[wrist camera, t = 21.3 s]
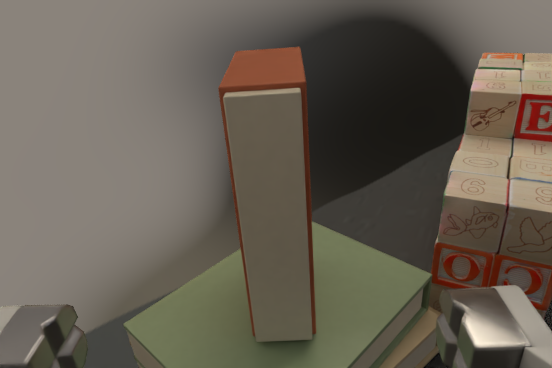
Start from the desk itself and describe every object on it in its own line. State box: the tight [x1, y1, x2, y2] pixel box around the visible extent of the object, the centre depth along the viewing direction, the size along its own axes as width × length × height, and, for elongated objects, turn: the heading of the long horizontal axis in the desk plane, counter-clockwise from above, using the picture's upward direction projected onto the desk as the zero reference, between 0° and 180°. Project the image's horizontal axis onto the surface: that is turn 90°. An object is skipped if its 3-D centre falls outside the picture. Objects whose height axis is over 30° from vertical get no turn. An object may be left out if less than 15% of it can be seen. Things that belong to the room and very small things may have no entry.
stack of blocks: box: [428, 53, 552, 320], centre depth 31 cm, size 21×6×12 cm, turn 153°
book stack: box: [123, 222, 442, 368], centre depth 24 cm, size 14×11×5 cm
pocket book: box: [218, 47, 316, 342], centre depth 20 cm, size 3×6×12 cm, turn 179°
